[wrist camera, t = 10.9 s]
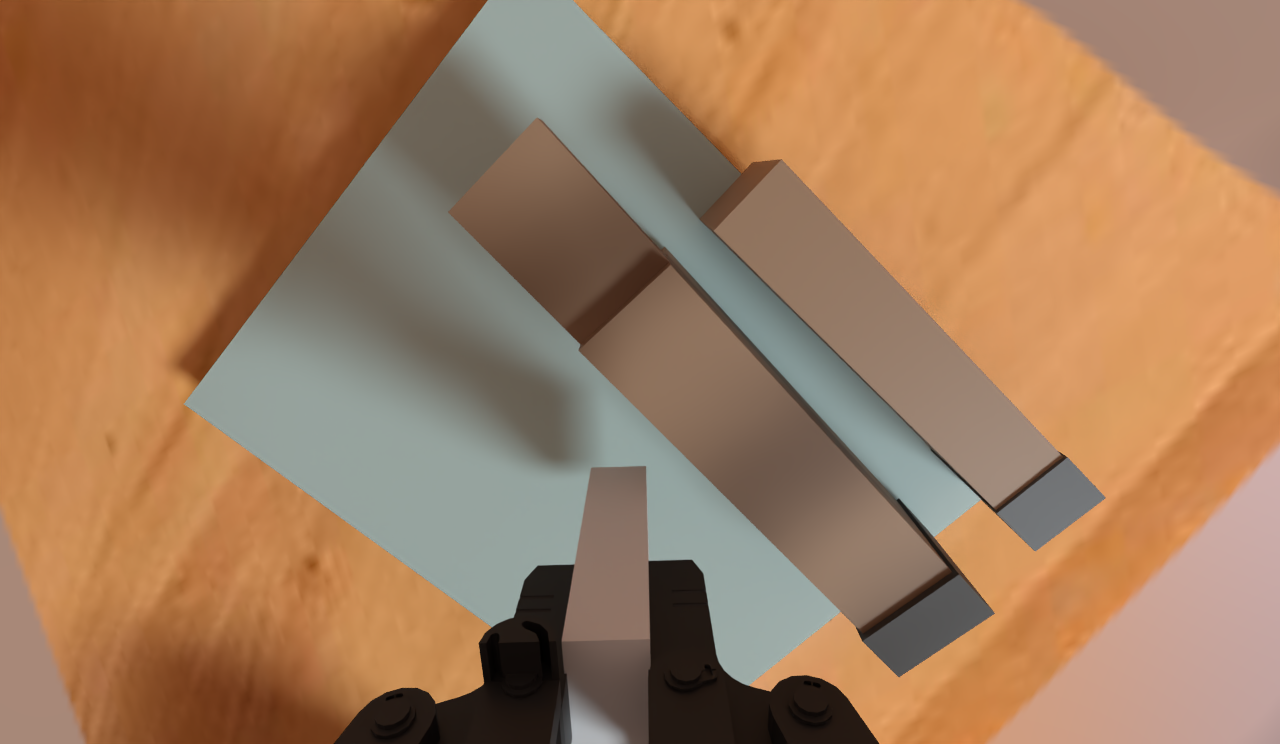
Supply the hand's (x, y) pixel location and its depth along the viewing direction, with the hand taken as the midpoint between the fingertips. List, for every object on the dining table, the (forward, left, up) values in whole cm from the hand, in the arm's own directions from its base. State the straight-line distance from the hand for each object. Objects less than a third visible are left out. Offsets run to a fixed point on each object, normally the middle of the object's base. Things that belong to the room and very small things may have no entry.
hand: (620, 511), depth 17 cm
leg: (+4, 0, -2) cm, 5 cm away
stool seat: (+1, +1, -4) cm, 4 cm away
